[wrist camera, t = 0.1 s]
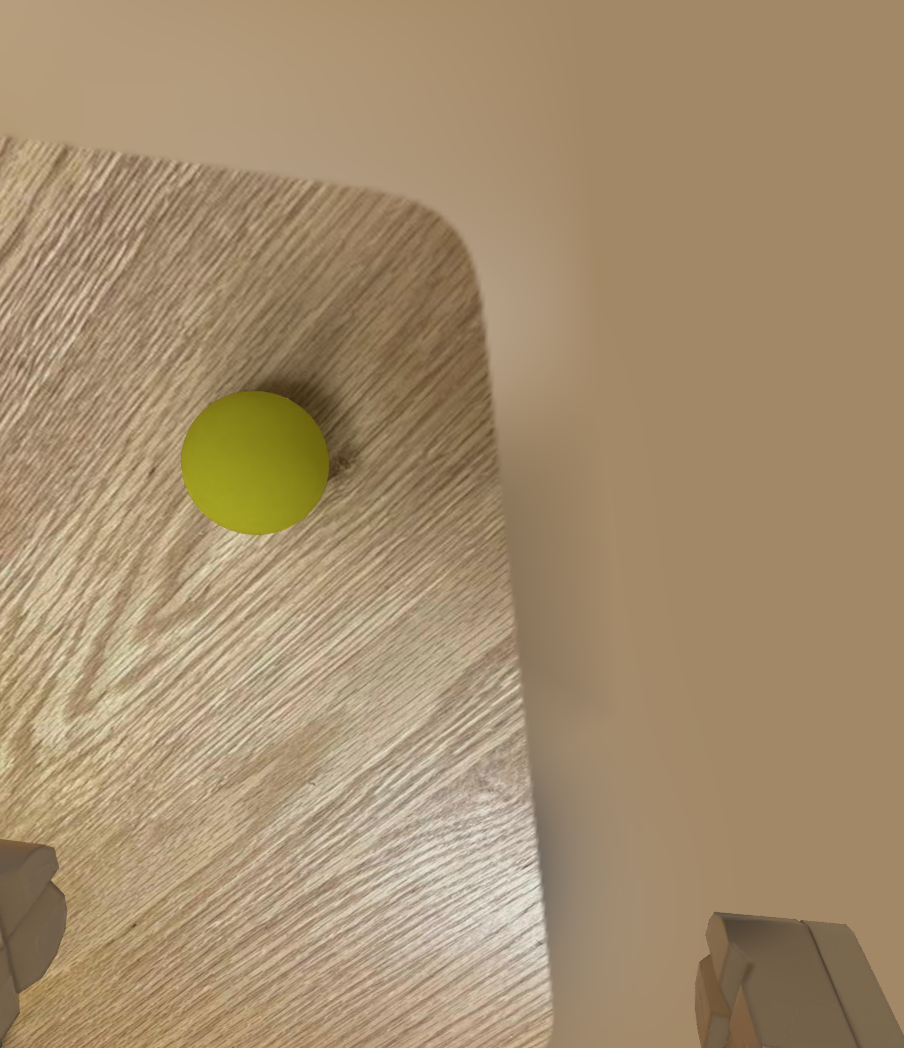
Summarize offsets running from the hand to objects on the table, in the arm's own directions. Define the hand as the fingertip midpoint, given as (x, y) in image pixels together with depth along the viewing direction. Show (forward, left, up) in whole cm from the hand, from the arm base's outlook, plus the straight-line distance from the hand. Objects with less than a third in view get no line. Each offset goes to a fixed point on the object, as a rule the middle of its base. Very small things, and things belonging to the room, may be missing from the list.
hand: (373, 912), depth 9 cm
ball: (-1, -7, -16) cm, 17 cm away
